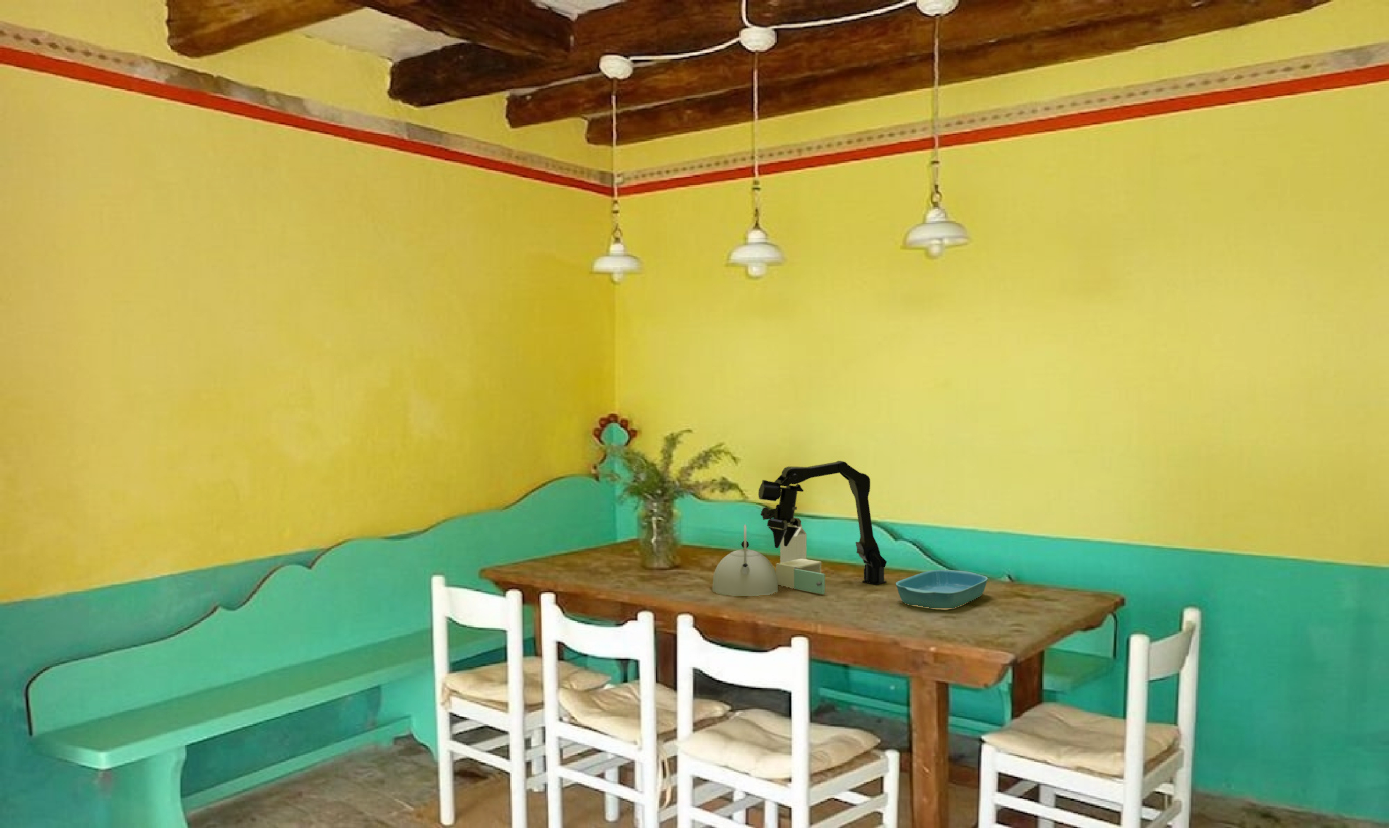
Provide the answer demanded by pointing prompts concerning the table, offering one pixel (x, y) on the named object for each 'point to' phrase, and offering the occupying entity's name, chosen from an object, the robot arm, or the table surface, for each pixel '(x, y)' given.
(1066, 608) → the table surface
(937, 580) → the casserole dish
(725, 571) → the kettle
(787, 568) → the cupboard
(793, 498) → the robot arm
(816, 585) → the door
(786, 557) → the milk carton
